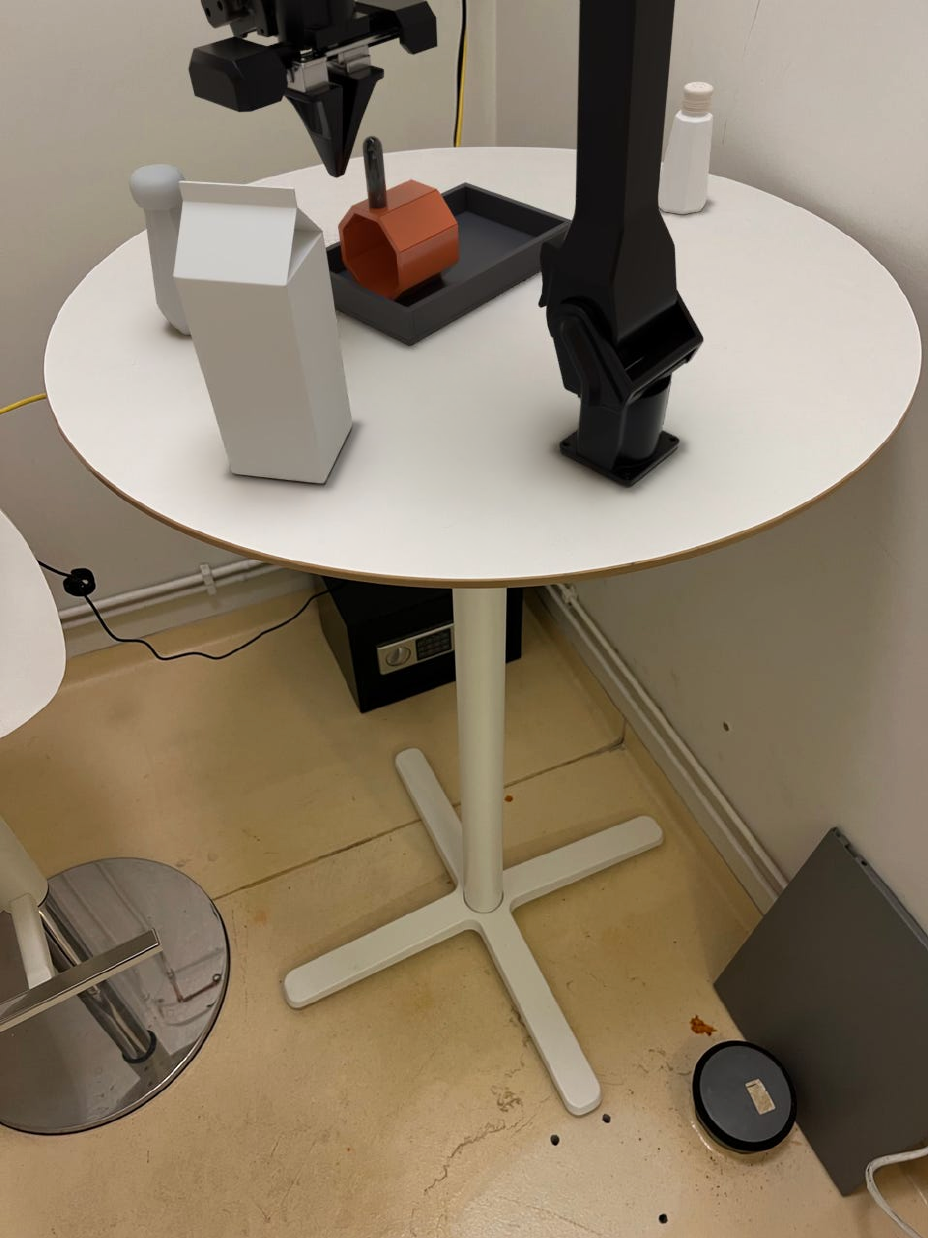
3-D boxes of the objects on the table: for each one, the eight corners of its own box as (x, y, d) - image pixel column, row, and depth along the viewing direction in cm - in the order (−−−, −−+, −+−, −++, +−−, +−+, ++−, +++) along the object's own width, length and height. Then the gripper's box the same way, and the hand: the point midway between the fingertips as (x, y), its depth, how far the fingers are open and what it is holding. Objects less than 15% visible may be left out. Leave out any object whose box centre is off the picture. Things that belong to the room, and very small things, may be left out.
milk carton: (325, 486, 60) (272, 214, 46) (232, 475, 61) (151, 207, 47) (353, 426, 65) (313, 163, 50) (266, 417, 66) (202, 157, 51)
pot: (460, 285, 78) (406, 315, 74) (400, 259, 81) (346, 286, 78) (455, 127, 68) (392, 154, 64) (387, 105, 71) (324, 129, 68)
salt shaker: (244, 317, 76) (207, 164, 66) (197, 347, 73) (151, 191, 63) (198, 300, 78) (156, 150, 68) (151, 328, 75) (100, 175, 65)
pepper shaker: (684, 219, 86) (704, 99, 78) (643, 203, 89) (658, 85, 81) (716, 203, 89) (739, 84, 80) (675, 188, 91) (693, 72, 83)
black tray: (409, 345, 72) (407, 313, 70) (302, 291, 79) (296, 260, 76) (573, 252, 82) (575, 220, 80) (466, 211, 89) (465, 181, 87)
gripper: (330, -113, 63) (356, 118, 74) (110, -68, 54) (179, 186, 66) (436, -98, 58) (446, 149, 69) (212, -44, 49) (267, 227, 61)
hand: (336, 175), depth 66 cm, fingers closed
